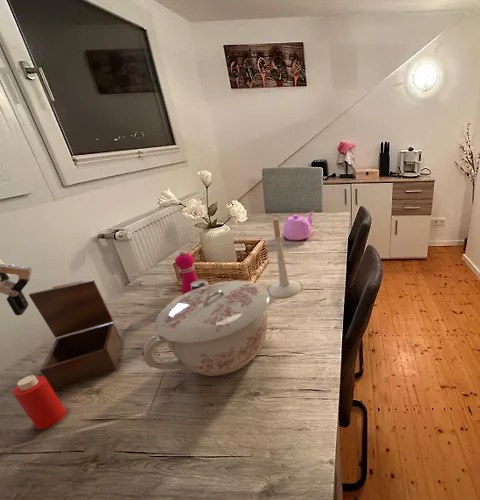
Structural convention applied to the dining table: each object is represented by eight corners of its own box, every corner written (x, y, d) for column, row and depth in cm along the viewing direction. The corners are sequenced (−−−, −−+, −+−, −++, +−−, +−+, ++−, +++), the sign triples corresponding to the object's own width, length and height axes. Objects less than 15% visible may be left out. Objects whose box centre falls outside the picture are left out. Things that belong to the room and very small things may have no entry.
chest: (117, 371, 76) (106, 349, 73) (54, 394, 70) (39, 370, 66) (122, 342, 86) (113, 321, 83) (68, 359, 80) (56, 338, 77)
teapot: (326, 235, 170) (325, 213, 165) (297, 245, 156) (295, 221, 151) (304, 227, 184) (302, 207, 179) (275, 236, 170) (272, 214, 165)
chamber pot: (278, 318, 95) (269, 263, 87) (276, 383, 70) (264, 315, 62) (189, 332, 90) (171, 275, 82) (153, 407, 65) (122, 336, 57)
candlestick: (299, 279, 120) (291, 211, 108) (303, 295, 108) (294, 220, 97) (268, 284, 117) (257, 215, 105) (269, 300, 105) (256, 224, 94)
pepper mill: (209, 295, 110) (196, 249, 102) (191, 304, 104) (176, 256, 97) (198, 291, 114) (186, 245, 106) (180, 299, 108) (166, 252, 100)
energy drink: (204, 318, 96) (196, 288, 92) (195, 313, 99) (186, 284, 94) (218, 310, 101) (210, 281, 96) (209, 306, 103) (201, 277, 99)
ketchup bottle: (32, 434, 60) (1, 392, 55) (46, 414, 64) (20, 374, 59) (59, 427, 61) (32, 386, 56) (72, 408, 66) (47, 368, 61)
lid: (93, 280, 76) (95, 272, 80) (28, 295, 70) (34, 285, 74) (112, 321, 83) (114, 312, 86) (55, 337, 77) (59, 327, 80)
